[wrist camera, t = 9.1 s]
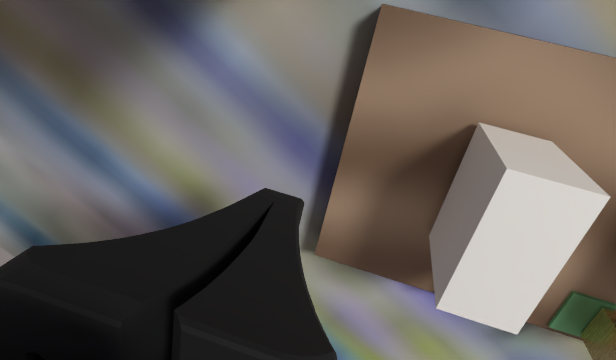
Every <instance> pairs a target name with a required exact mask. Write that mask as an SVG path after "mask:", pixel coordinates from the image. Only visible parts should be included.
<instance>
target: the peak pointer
mask: <svg viewBox="0 0 616 360" xmlns="http://www.w3.org/2000/svg"><path fill="white" fill-rule="evenodd" d="M580 336H581V338H582V340H583V342H584V343H585V345H586V347H587V349H588V351H589V353H590V355H591V357H592V359H593V360H616V311H613V310H610V309H607V308H604V307H602V308H601V310H600V311H599V312H598V313H597V315H596V316H595V317H594V318H593V320H592V321H591V322H590V323H589V325H588V326H587V327H586V328H585V330H584V331H583V332H582V333H581V335H580Z"/></svg>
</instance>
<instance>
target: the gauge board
mask: <svg viewBox="0 0 616 360" xmlns="http://www.w3.org/2000/svg"><path fill="white" fill-rule="evenodd" d="M478 123H483V124H487V125H491V126H495V127H498V128H502V129H506V130H510V131H514V132H518V133H521V134H525V135H529V136H533V137H537V138H540V139H544V140H548V141H552V142H553V143H554V144H555V145H556V146H557V147H558V148H559V149H561V150H562V151H563V152H564V153H565V154H566V155H567V156H568V157H569V158H570V159H571V160H572V161H573V162H574V163H575V164H576V165H577V166H578V167H580V168H581V169H582V170H583V171H584V172H585V173H586V174H587V175H588V176H589V177H590V178H591V179H592V180H593V181H594V182H595V183H596V184H598V185H599V186H600V187H601V188H602V189H603V190H604V191H605V192H606V193H607V194H608V195H609V196H610V199H609V200H608V202H607V203H606V205H605V206H604V208H603V209H602V211H601V212H600V213H599V215H598V216H597V218H596V219H595V221H594V222H593V224H592V225H591V227H590V228H589V230H588V231H587V233H586V234H585V236H584V237H583V239H582V240H581V241H580V243H579V244H578V246H577V247H576V249H575V250H574V252H573V253H572V255H571V256H570V258H569V259H568V261H567V262H566V264H565V265H564V266H563V268H562V269H561V271H560V272H559V274H558V275H557V277H556V278H555V280H554V281H553V283H552V284H551V286H550V287H549V289H548V290H547V291H546V293H545V294H544V296H543V297H542V299H541V300H540V302H539V303H538V305H537V306H536V308H535V309H534V311H533V312H532V314H531V315H530V317H529V318H528V319H527V321H526V322H527V323H530V324H533V325H536V326H539V327H542V328H546V329H549V330H552V331H555V332H558V333H561V334H564V335H567V336H571V337H574V338H577V339H580V340H582V338H581V336H580V335H581V333H582V332H583V331H584V330H585V328H586V327H587V326H588V325H589V323H590V322H591V321H592V320H593V318H594V317H595V316H596V315H597V313H598V312H599V311H600V310H601V308H602V307H604V308H607V309H610V310H613V311H616V58H614V57H610V56H606V55H601V54H597V53H593V52H588V51H584V50H580V49H575V48H571V47H567V46H562V45H558V44H554V43H550V42H545V41H541V40H537V39H532V38H528V37H524V36H519V35H515V34H511V33H507V32H502V31H498V30H494V29H489V28H485V27H481V26H476V25H472V24H468V23H464V22H459V21H455V20H451V19H446V18H442V17H438V16H433V15H429V14H425V13H420V12H416V11H412V10H408V9H403V8H399V7H395V6H390V5H386V4H382V6H381V9H380V13H379V17H378V20H377V24H376V28H375V32H374V35H373V39H372V43H371V46H370V50H369V54H368V58H367V61H366V65H365V69H364V73H363V76H362V80H361V84H360V87H359V91H358V95H357V99H356V102H355V106H354V110H353V114H352V117H351V121H350V125H349V128H348V132H347V136H346V140H345V143H344V147H343V151H342V154H341V158H340V162H339V166H338V169H337V173H336V177H335V181H334V184H333V188H332V192H331V195H330V199H329V203H328V207H327V210H326V214H325V218H324V221H323V225H322V229H321V233H320V236H319V240H318V244H317V248H316V251H315V255H318V256H321V257H324V258H327V259H330V260H333V261H336V262H339V263H342V264H346V265H349V266H352V267H355V268H358V269H361V270H364V271H367V272H371V273H374V274H377V275H380V276H383V277H386V278H389V279H392V280H396V281H399V282H402V283H405V284H408V285H411V286H414V287H417V288H421V289H424V290H427V291H430V292H433V293H435V292H434V282H433V272H432V261H431V251H430V241H429V235H430V232H431V230H432V228H433V226H434V223H435V221H436V219H437V216H438V214H439V212H440V210H441V207H442V205H443V203H444V200H445V198H446V196H447V194H448V191H449V189H450V187H451V184H452V182H453V180H454V178H455V175H456V173H457V171H458V169H459V166H460V164H461V162H462V159H463V157H464V155H465V153H466V150H467V148H468V146H469V143H470V141H471V139H472V137H473V134H474V132H475V130H476V127H477V125H478Z"/></svg>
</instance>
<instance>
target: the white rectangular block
mask: <svg viewBox="0 0 616 360" xmlns="http://www.w3.org/2000/svg"><path fill="white" fill-rule="evenodd" d="M609 199H610V196H609V195H608V194H607V193H606V192H605V191H604V190H603V189H602V188H601V187H600V186H599V185H598V184H596V183H595V182H594V181H593V180H592V179H591V178H590V177H589V176H588V175H587V174H586V173H585V172H584V171H583V170H582V169H581V168H580V167H578V166H577V165H576V164H575V163H574V162H573V161H572V160H571V159H570V158H569V157H568V156H567V155H566V154H565V153H564V152H563V151H562V150H561V149H559V148H558V147H557V146H556V145H555V144H554V143H553V142H552V141H548V140H544V139H540V138H537V137H533V136H529V135H525V134H521V133H518V132H514V131H510V130H506V129H502V128H498V127H495V126H491V125H487V124H483V123H478V125H477V127H476V130H475V132H474V134H473V137H472V139H471V141H470V143H469V146H468V148H467V150H466V153H465V155H464V157H463V159H462V162H461V164H460V166H459V169H458V171H457V173H456V175H455V178H454V180H453V182H452V184H451V187H450V189H449V191H448V194H447V196H446V198H445V200H444V203H443V205H442V207H441V210H440V212H439V214H438V216H437V219H436V221H435V223H434V226H433V228H432V230H431V232H430V235H429V241H430V251H431V261H432V272H433V282H434V292H435V302H436V309H439V310H442V311H446V312H449V313H452V314H455V315H458V316H461V317H464V318H467V319H470V320H473V321H476V322H479V323H482V324H486V325H489V326H492V327H495V328H498V329H501V330H504V331H507V332H510V333H513V334H516V335H517V334H518V333H519V331H520V330H521V328H522V327H523V325H524V324H525V322H526V321H527V319H528V318H529V317H530V315H531V314H532V312H533V311H534V309H535V308H536V306H537V305H538V303H539V302H540V300H541V299H542V297H543V296H544V294H545V293H546V291H547V290H548V289H549V287H550V286H551V284H552V283H553V281H554V280H555V278H556V277H557V275H558V274H559V272H560V271H561V269H562V268H563V266H564V265H565V264H566V262H567V261H568V259H569V258H570V256H571V255H572V253H573V252H574V250H575V249H576V247H577V246H578V244H579V243H580V241H581V240H582V239H583V237H584V236H585V234H586V233H587V231H588V230H589V228H590V227H591V225H592V224H593V222H594V221H595V219H596V218H597V216H598V215H599V213H600V212H601V211H602V209H603V208H604V206H605V205H606V203H607V202H608V200H609Z"/></svg>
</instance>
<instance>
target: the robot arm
mask: <svg viewBox="0 0 616 360" xmlns="http://www.w3.org/2000/svg"><path fill="white" fill-rule="evenodd" d="M303 207H304V202H303V200H302V199H300V198H297V197H294V196H290V195H287V194H284V193H280V192H277V191H274V190H270V189H267V188H264V189H262V190H260V191H258V192H256V193H254V194H252V195H250V196H248V197H246V198H244V199H242V200H240V201H238V202H236V203H234V204H232V205H230V206H228V207H225V208H223V209H221V210H218V211H216V212H213V213H211V214H209V215H206V216H204V217H201V218H199V219H196V220H193V221H190V222H187V223H184V224H181V225H178V226H174V227H171V228H167V229H164V230H159V231H155V232H150V233H145V234H141V235H136V236H132V237H126V238H120V239H113V240H106V241H98V242H89V243H79V244H63V245H47V246H32V247H30V248H29V249H27V250H26V251H24V252H22V253H21V254H19V255H18V256H16V257H15V258H13V259H12V260H10V261H9V262H7V263H6V264H4V265H2V266H1V267H0V360H337V356H336V352H335V351H334V349H333V347H332V345H331V343H330V342H329V340H328V338H327V336H326V334H325V332H324V330H323V328H322V325H321V323H320V321H319V319H318V316H317V314H316V312H315V309H314V306H313V303H312V300H311V298H310V295H309V292H308V289H307V285H306V281H305V278H304V273H303V268H302V263H301V257H300V248H299V224H300V220H301V215H302V211H303Z"/></svg>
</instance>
